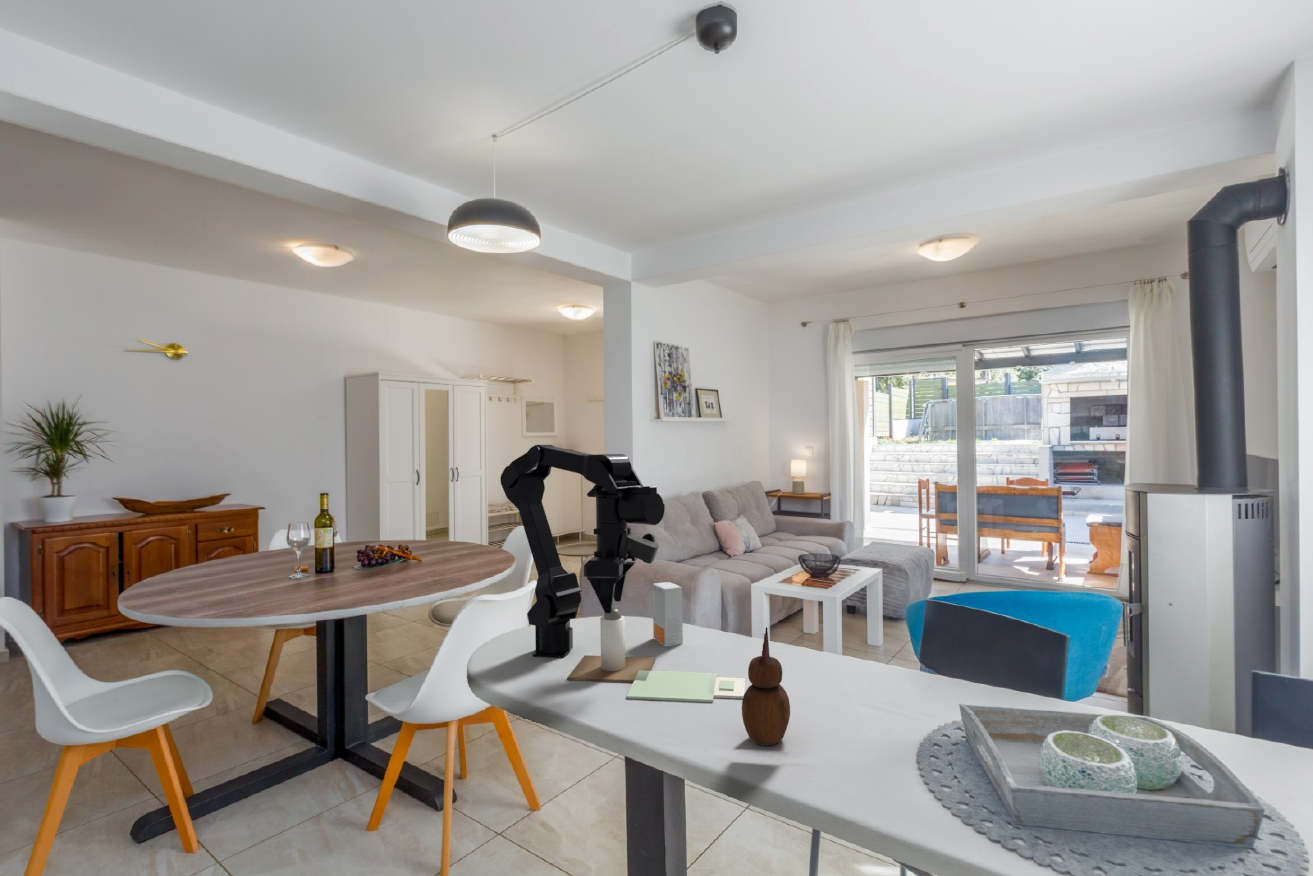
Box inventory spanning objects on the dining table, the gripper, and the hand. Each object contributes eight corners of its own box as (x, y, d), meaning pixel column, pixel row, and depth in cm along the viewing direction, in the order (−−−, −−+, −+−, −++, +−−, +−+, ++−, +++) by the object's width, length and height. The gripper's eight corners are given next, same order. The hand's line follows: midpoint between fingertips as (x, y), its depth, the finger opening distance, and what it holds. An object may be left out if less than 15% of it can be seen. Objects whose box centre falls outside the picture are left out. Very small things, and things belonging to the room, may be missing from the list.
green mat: (626, 698, 103) (626, 696, 103) (639, 672, 114) (639, 670, 114) (713, 702, 101) (713, 699, 101) (716, 675, 112) (716, 673, 112)
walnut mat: (567, 679, 111) (567, 677, 111) (584, 657, 123) (584, 655, 123) (645, 683, 109) (645, 680, 109) (655, 660, 121) (655, 657, 121)
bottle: (598, 671, 114) (597, 610, 114) (604, 662, 119) (603, 605, 119) (622, 671, 114) (622, 611, 114) (627, 663, 118) (626, 605, 118)
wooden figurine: (760, 725, 92) (758, 622, 92) (796, 736, 88) (794, 629, 89) (735, 742, 87) (733, 633, 87) (772, 755, 83) (770, 640, 83)
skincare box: (652, 640, 134) (651, 583, 134) (670, 637, 135) (669, 581, 136) (665, 648, 128) (664, 589, 128) (683, 645, 130) (682, 586, 130)
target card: (707, 697, 103) (707, 692, 103) (710, 679, 111) (710, 675, 111) (744, 698, 102) (744, 694, 102) (745, 680, 110) (745, 676, 110)
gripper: (646, 528, 106) (648, 621, 106) (661, 516, 125) (663, 596, 124) (582, 528, 108) (583, 620, 107) (606, 516, 126) (607, 595, 126)
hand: (613, 607), depth 116 cm, fingers open, 8 cm apart
